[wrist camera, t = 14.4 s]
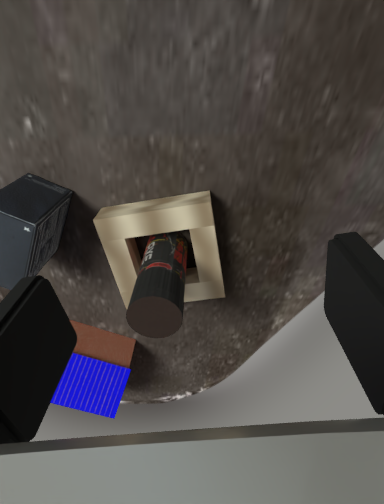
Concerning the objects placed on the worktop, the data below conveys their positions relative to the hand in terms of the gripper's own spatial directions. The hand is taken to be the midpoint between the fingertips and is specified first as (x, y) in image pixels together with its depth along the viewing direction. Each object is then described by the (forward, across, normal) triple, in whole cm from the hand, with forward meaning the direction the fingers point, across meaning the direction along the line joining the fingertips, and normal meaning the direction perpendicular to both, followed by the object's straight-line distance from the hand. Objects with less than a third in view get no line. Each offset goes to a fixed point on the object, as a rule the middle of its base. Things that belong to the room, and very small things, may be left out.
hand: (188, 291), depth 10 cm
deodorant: (+31, +7, +15) cm, 35 cm away
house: (+31, +28, +33) cm, 53 cm away
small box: (+31, +23, +7) cm, 39 cm away
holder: (+30, +7, +15) cm, 35 cm away
